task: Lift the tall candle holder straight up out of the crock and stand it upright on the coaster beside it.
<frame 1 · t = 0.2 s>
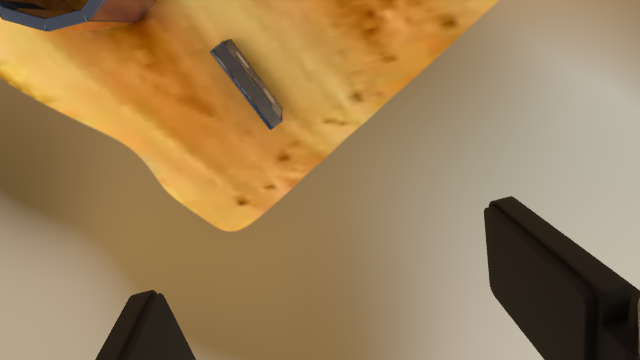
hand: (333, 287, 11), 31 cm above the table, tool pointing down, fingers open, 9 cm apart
mini dv tape: (251, 79, 39), on the table
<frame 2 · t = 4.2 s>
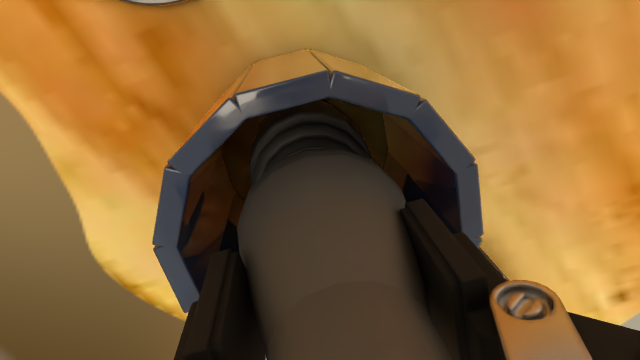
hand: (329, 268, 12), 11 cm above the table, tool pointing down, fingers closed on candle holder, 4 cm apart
crock: (306, 151, 22), on the table
candle holder: (306, 151, 22), resting in crock, touching gripper
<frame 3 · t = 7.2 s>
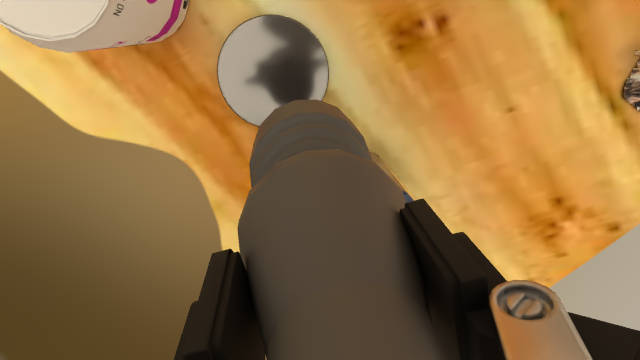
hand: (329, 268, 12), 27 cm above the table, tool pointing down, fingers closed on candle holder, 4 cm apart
crock: (345, 197, 41), on the table
candle holder: (306, 151, 22), point 15 cm above the table, touching gripper
coaster: (273, 74, 35), on the table
when the fingers open (12 cm above the table, at t = 10.3 s): candle holder stays where it is, resting on coaster.
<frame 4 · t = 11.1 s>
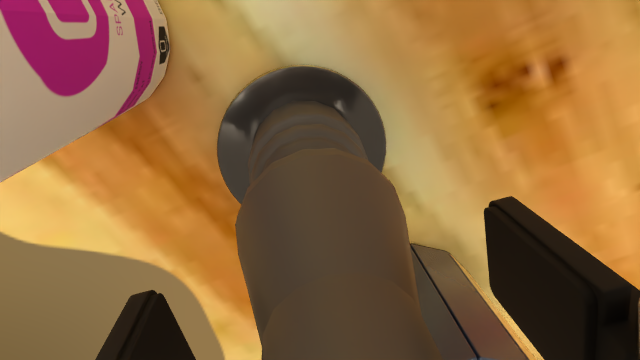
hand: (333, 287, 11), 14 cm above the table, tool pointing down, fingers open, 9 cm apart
crock: (401, 309, 29), on the table
supplement can: (93, 33, 20), on the table
candle holder: (304, 151, 23), point 1 cm above the table, touching coaster
coaster: (302, 149, 23), on the table
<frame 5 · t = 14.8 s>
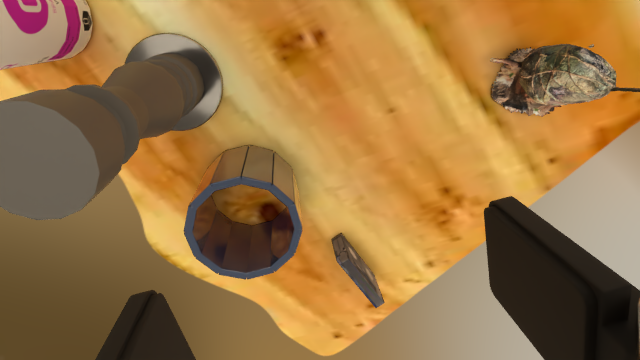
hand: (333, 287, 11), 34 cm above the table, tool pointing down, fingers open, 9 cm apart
crock: (251, 189, 46), on the table
mini dv tape: (352, 256, 52), on the table
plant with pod: (522, 76, 45), on the table
supplement can: (51, 15, 38), on the table
candle holder: (174, 83, 40), point 1 cm above the table, touching coaster
coaster: (175, 83, 41), on the table
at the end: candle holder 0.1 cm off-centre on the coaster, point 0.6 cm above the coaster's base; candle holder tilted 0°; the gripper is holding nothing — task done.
